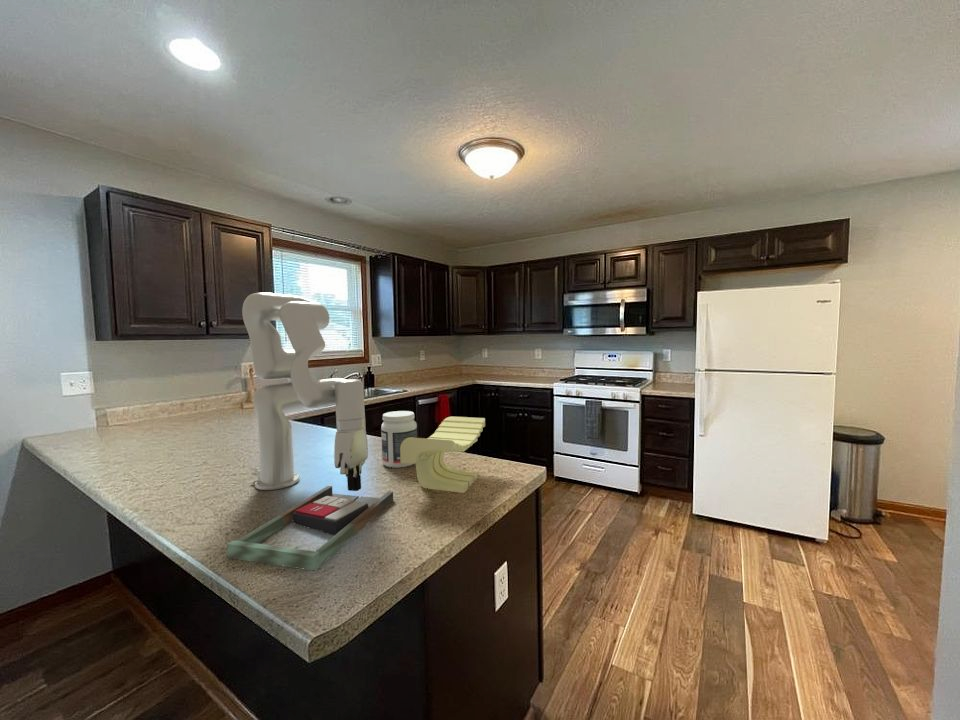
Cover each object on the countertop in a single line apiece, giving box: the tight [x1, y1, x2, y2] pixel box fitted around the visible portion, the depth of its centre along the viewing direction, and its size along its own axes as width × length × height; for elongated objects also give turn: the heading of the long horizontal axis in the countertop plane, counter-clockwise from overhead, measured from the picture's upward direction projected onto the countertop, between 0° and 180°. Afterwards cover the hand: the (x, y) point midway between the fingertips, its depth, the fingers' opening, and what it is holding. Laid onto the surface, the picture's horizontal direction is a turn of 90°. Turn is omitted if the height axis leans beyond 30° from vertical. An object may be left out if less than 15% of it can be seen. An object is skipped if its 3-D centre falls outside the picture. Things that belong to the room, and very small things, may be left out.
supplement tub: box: [380, 410, 418, 469], centre depth 141 cm, size 13×13×18 cm
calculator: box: [292, 496, 368, 536], centre depth 98 cm, size 11×4×15 cm
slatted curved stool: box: [400, 416, 486, 494], centre depth 122 cm, size 30×16×18 cm, turn 162°
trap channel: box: [226, 485, 394, 571], centre depth 95 cm, size 21×34×3 cm, turn 166°
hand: (354, 489), depth 107 cm, fingers closed
